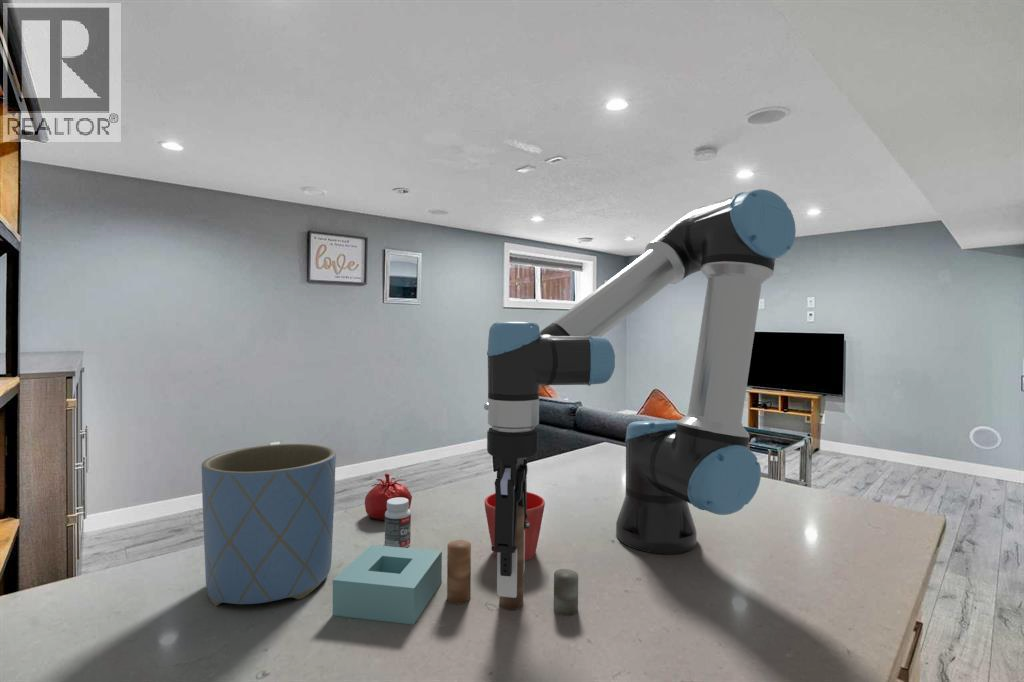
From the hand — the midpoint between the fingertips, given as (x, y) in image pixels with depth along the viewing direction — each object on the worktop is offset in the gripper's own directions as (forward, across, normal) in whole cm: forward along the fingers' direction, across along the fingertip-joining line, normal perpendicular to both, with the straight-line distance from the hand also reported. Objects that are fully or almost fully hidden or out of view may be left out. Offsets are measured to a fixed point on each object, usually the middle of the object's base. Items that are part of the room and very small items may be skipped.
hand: (511, 582), depth 74 cm
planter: (+3, +1, -38) cm, 39 cm away
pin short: (+3, 0, +8) cm, 9 cm away
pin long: (+3, 0, 0) cm, 3 cm away
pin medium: (+3, 0, -8) cm, 9 cm away
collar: (+3, +2, -18) cm, 18 cm away
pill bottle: (+3, -16, -24) cm, 29 cm away
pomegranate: (+3, -30, -32) cm, 44 cm away
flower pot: (+3, -17, -2) cm, 17 cm away
